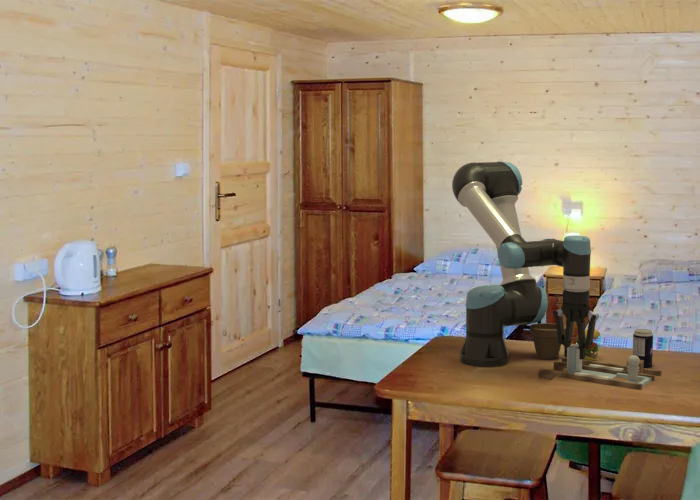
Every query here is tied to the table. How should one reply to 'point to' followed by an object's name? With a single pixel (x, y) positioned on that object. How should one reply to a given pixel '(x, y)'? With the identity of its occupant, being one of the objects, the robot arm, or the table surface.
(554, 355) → the flower pot
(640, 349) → the beverage can
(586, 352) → the hamburger
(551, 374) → the lane rails
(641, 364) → the walnut cube
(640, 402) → the table surface
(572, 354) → the pale grey slab
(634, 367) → the chess piece
